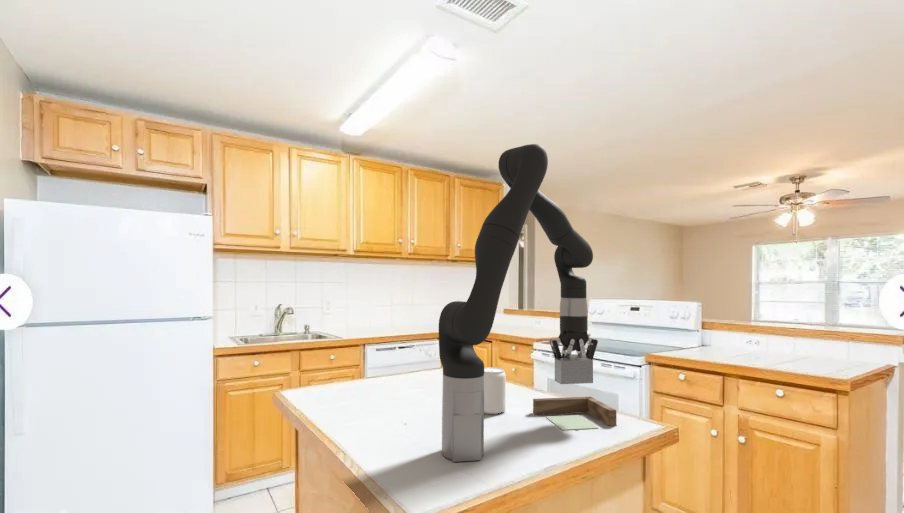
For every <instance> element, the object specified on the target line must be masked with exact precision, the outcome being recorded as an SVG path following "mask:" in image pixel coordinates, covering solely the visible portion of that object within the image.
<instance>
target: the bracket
mask: <svg viewBox="0 0 904 513" xmlns="http://www.w3.org/2000/svg"><path fill="white" fill-rule="evenodd" d="M554 382H556V383H558V384H559V385H570V384H571V385H577V384H578V385H579V384H582V385H583V384H594V360H591V359H589V358H586V357H583V356H580V355H578V354H577V353H576V354H571V355H570V357H569V358H555V357H554Z"/></svg>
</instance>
